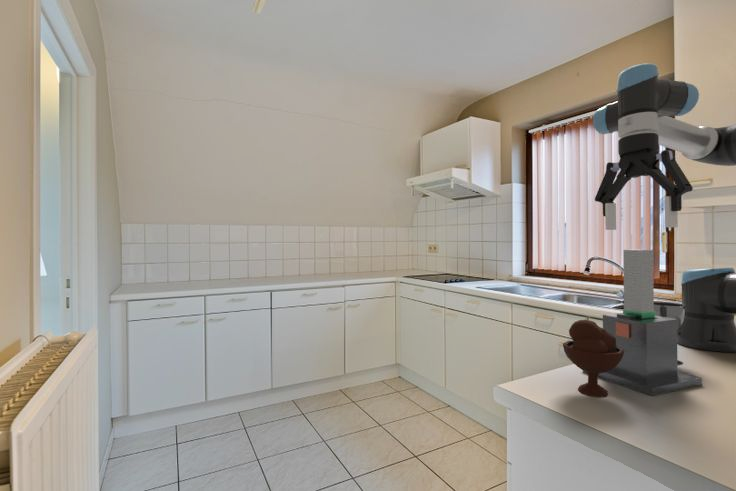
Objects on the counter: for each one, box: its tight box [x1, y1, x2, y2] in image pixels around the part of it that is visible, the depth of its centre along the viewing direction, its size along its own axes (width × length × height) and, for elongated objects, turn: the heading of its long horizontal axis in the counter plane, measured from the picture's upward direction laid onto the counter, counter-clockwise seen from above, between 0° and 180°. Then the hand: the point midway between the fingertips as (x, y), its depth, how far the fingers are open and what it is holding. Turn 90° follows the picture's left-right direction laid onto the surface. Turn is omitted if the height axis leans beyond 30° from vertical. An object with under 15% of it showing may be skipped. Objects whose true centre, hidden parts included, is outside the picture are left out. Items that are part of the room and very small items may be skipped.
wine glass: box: [654, 300, 685, 366], centre depth 99 cm, size 8×8×15 cm
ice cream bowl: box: [562, 319, 624, 398], centre depth 79 cm, size 11×11×15 cm
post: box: [622, 249, 655, 320], centre depth 87 cm, size 4×4×21 cm
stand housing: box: [582, 312, 703, 397], centre depth 87 cm, size 16×16×15 cm
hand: (639, 228), depth 87 cm, fingers open, 13 cm apart
